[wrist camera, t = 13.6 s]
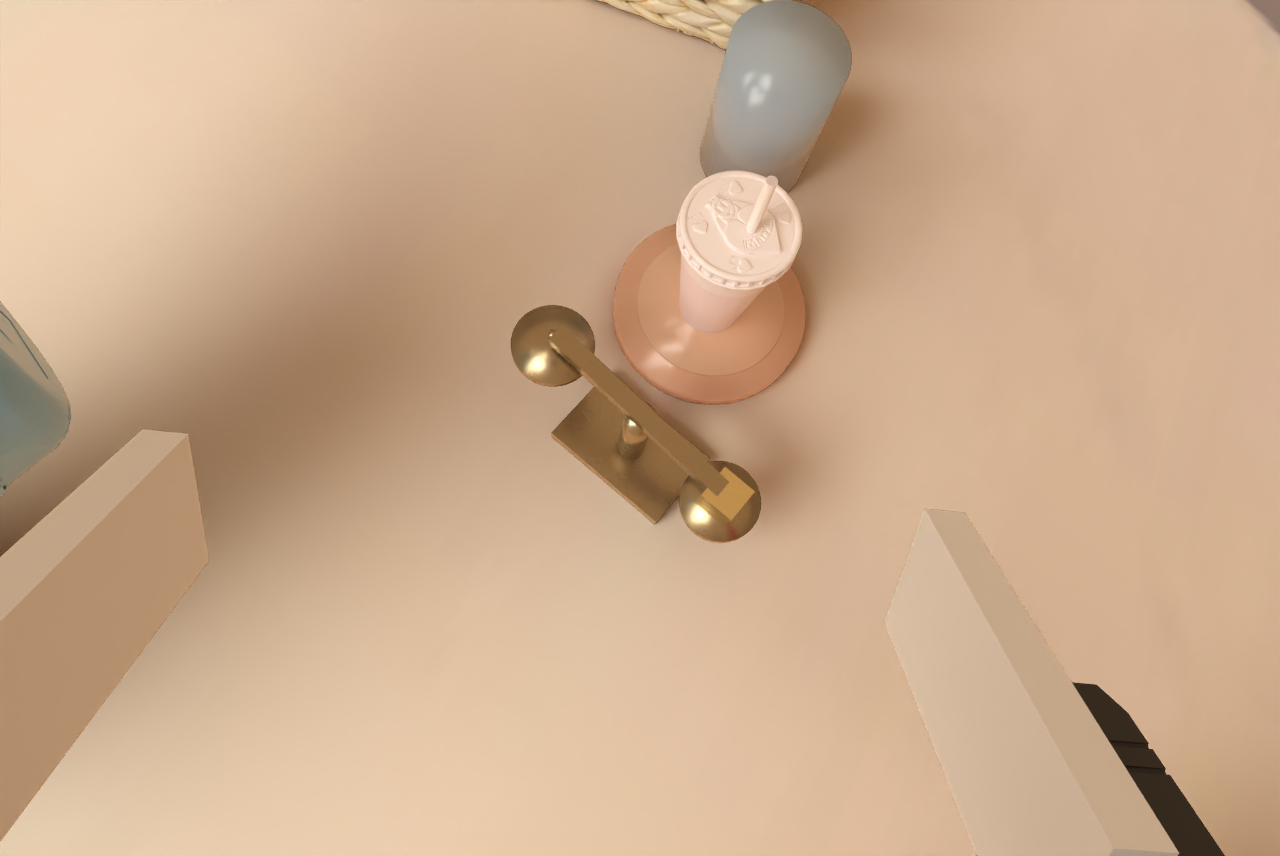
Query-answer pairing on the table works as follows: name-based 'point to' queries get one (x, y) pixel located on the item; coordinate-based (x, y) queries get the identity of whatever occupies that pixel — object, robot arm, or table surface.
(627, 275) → the dish
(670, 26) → the storage basket
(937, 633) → the robot arm
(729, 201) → the smoothie
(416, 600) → the table surface
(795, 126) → the grey domed cylinder
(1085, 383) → the table surface
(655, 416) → the balance
